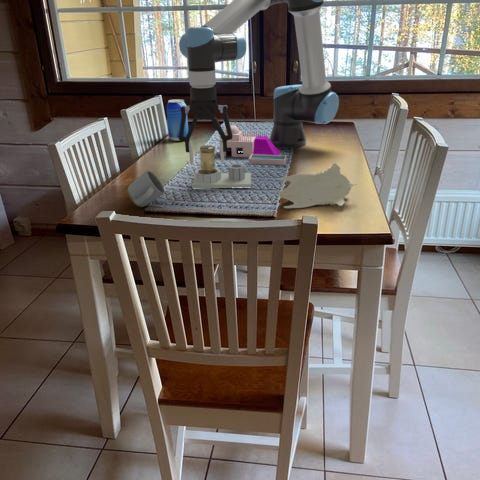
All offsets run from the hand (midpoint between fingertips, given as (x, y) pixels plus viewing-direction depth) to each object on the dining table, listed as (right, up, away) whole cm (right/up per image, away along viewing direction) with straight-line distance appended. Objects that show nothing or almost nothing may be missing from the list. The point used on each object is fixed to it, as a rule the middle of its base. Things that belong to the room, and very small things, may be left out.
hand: (207, 162), depth 143 cm
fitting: (0, -5, +2) cm, 5 cm away
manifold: (+5, -6, +3) cm, 8 cm away
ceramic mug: (-16, -15, -14) cm, 26 cm away
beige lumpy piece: (+33, -16, -14) cm, 39 cm away
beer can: (-16, +19, +57) cm, 62 cm away
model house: (+15, +6, +29) cm, 33 cm away
